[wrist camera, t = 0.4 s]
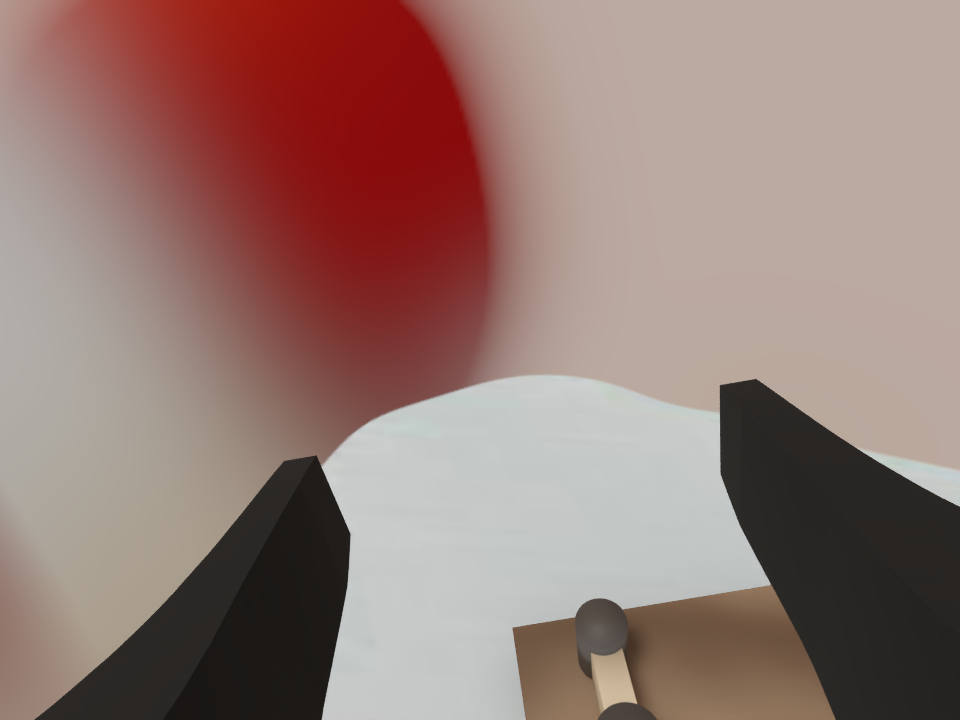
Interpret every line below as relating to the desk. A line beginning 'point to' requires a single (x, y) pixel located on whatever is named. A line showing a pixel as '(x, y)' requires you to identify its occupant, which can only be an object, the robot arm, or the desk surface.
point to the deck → (683, 663)
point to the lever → (607, 659)
